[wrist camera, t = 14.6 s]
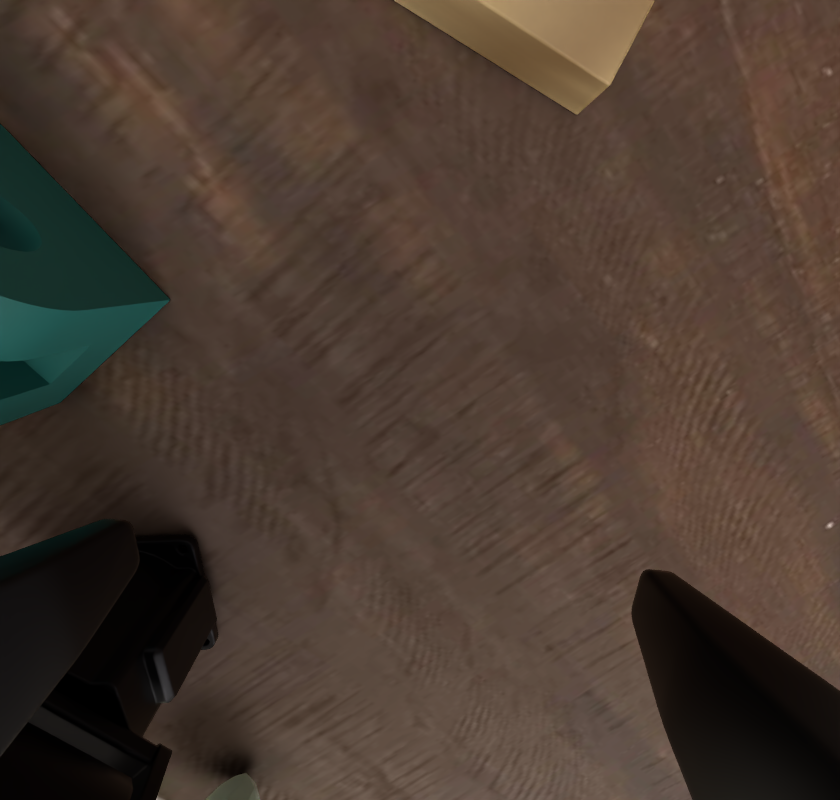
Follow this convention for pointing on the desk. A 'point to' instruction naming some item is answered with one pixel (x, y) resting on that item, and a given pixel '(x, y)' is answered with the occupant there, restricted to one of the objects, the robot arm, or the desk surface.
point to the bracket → (58, 289)
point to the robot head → (236, 789)
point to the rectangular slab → (545, 39)
